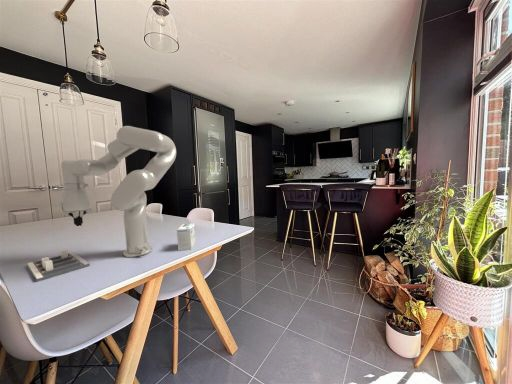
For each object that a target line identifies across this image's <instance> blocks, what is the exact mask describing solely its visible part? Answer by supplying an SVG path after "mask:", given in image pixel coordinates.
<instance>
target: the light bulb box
mask: <svg viewBox="0 0 512 384" xmlns="http://www.w3.org/2000/svg"><path fill="white" fill-rule="evenodd" d="M176 236H177V237H176V238H177V250H178V251H192V249H193V248H194V247H195V245H196V230H195V223H183V224H181V225H180V226H179V227H178V228H177V229H176Z"/></svg>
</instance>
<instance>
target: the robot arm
mask: <svg viewBox="0 0 512 384" xmlns="http://www.w3.org/2000/svg"><path fill="white" fill-rule="evenodd" d="M106 147H107V151H108V152H107V153H106V154H105V155H104V156H102V157H100V158H98V159H85V158H84V159H83V158H82V159H77V160H75V159H73V160H72V159H69V160H67V159H65V160H62V161H61V163H60V167H61V174H62V182H63V183H62V184H63V185H62V186H63V190H61V195H60V197H61V198H60V202H61V203H60V205H61V206H60V207H61V211H62V213H61V215H63V216H70V217H72V218H73V224H74V225H75V227H81V226H83V225H82V224H83V223H84V220H83V217H84V215H86V214H87V213H90V212H92V209H91V208H92V207H91V200H90V195H89V191H88V190H87V187H89V183H85V178H84V177H87V176H88V177H89V176H90V177H92V176H93V177H94V176H103V175H105V174H107V173H110V172H111V171H112V170H114V169H115V168H116V167H117V166H119V165H120V163H121V162H122V160H123V159H125V158H127V157H128V156H129V155H132V154H133V153H135V152H137V151H138V150H146V151H151V152H154V153H156V155H154V157H152V158H151V159H150V160H149V162H148V163H147V164H146V166H145V167H144V168H142V169H136V170H132V171H130V172H129V173H128V174H127V175H126V176H125V177H124V178H123V180H122V181H121V182H120V183H119V184H118V186H117V187H116V189H115V190H114V191H113V192H112V194H111V196H110V204H111V206H112V207H113V208H114V209H115V210H117V211H120V212H121V211H123V225H124V237H125V245H126V250H124V251H123V253H122V254H123V255H122V256H123V257H127V258H135V257H140V256H144V255H147V254H149V253H152V251H153V249H154V248H153V246H151V245H150V244H149V243H150V242H149V241H150V240H149V231H148V230H149V229H148V220H147V219H148V218H147V200H148V199H147V194H146V191H149V190H152V189H154V188H155V187H156V186H157V184H158V183H159V182H160V180H161V179H162V178H163V177H164V175H165V174H167V171H168V170H169V169H170V168H171V166H172V165H173V164H174V162H175V160H176V157H177V148H176V145H175V143H174V141H173V140H172V138H170V137H169V136H167V135H165V134H162V133H161V132H159V131H156V130H150V129H145V128H141V127H135V126H132V125H124V126H122V127H120V128H118V130H117V132H116V139H114V140H111V142H109V143H108V144H107V146H106ZM77 212H78V215H77Z"/></svg>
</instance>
